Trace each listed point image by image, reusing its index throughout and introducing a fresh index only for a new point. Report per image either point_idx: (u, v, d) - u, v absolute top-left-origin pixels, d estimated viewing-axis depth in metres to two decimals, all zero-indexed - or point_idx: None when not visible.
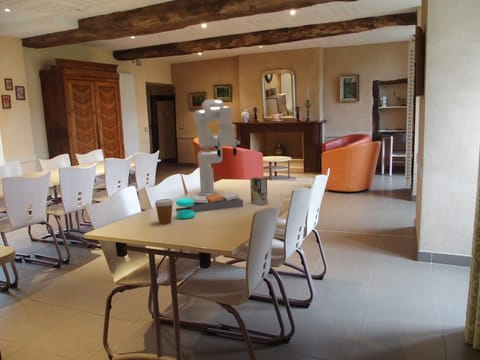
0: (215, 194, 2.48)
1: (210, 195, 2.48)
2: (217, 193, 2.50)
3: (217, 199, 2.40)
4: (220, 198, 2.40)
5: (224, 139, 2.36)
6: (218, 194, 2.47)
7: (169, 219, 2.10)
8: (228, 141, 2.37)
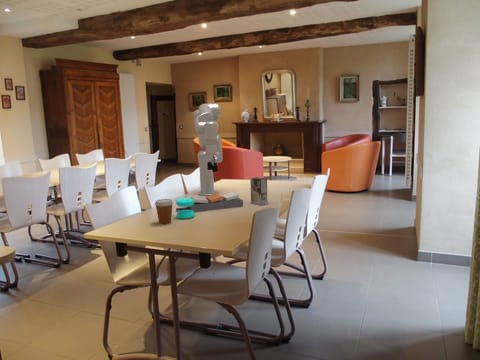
0: (215, 194, 2.48)
1: (210, 195, 2.48)
2: (217, 193, 2.50)
3: (217, 199, 2.40)
4: (220, 198, 2.40)
5: None
6: (218, 194, 2.47)
7: (169, 219, 2.10)
8: None
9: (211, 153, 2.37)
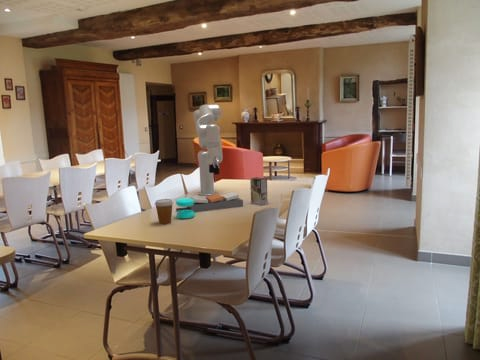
0: (215, 194, 2.48)
1: (210, 195, 2.48)
2: (217, 193, 2.50)
3: (217, 199, 2.40)
4: (220, 198, 2.40)
5: None
6: (218, 194, 2.47)
7: (169, 219, 2.10)
8: None
9: (213, 156, 2.36)
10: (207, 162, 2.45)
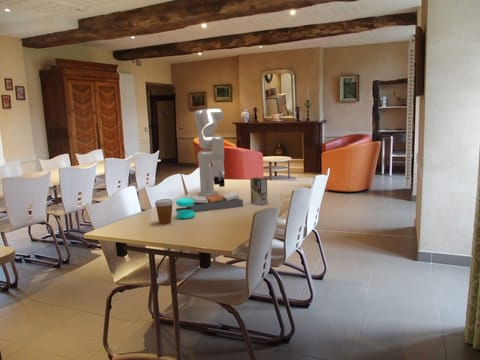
0: (215, 194, 2.48)
1: (210, 195, 2.48)
2: (217, 193, 2.50)
3: (217, 199, 2.40)
4: (220, 198, 2.40)
5: None
6: (218, 194, 2.47)
7: (169, 219, 2.10)
8: None
9: (218, 168, 2.37)
10: (212, 174, 2.46)
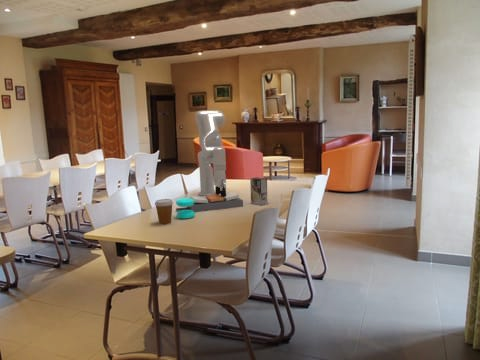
0: (215, 194, 2.48)
1: (210, 195, 2.48)
2: (217, 194, 2.50)
3: (217, 199, 2.40)
4: (220, 198, 2.40)
5: None
6: (218, 195, 2.47)
7: (169, 219, 2.10)
8: None
9: (220, 178, 2.39)
10: (214, 184, 2.47)
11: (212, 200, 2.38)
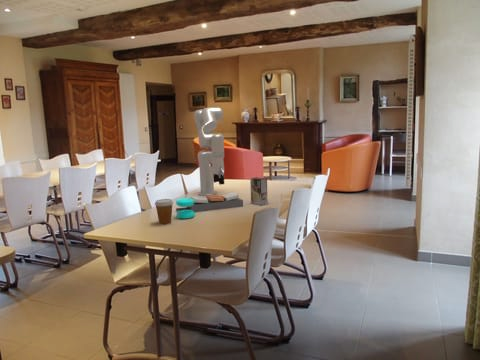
0: (216, 195, 2.49)
1: (211, 195, 2.49)
2: (218, 195, 2.50)
3: (217, 199, 2.40)
4: (220, 199, 2.40)
5: None
6: None
7: (169, 219, 2.10)
8: None
9: (218, 166, 2.37)
10: (212, 171, 2.46)
11: (212, 199, 2.38)
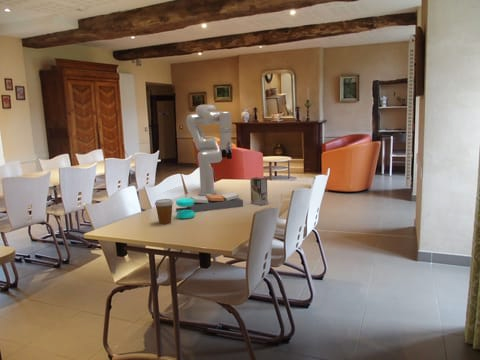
0: (216, 195, 2.49)
1: (211, 195, 2.49)
2: (218, 195, 2.50)
3: (217, 199, 2.40)
4: (221, 199, 2.40)
5: None
6: None
7: (169, 219, 2.10)
8: None
9: (226, 141, 2.50)
10: (220, 147, 2.58)
11: (212, 199, 2.38)
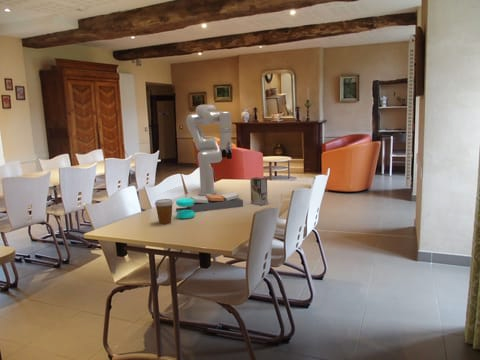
0: (216, 195, 2.49)
1: (211, 195, 2.49)
2: (218, 195, 2.50)
3: (217, 199, 2.40)
4: (221, 199, 2.40)
5: None
6: None
7: (169, 219, 2.10)
8: None
9: (226, 141, 2.50)
10: (220, 147, 2.58)
11: (212, 199, 2.38)
